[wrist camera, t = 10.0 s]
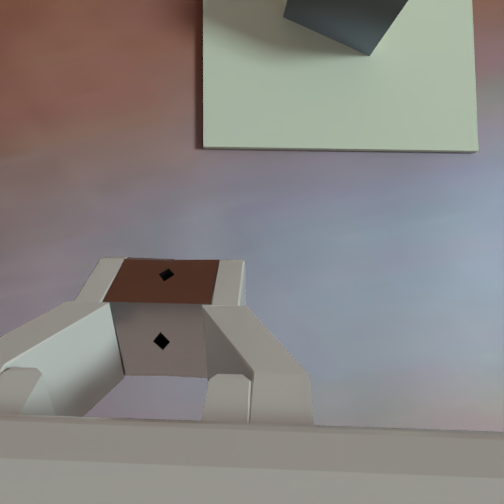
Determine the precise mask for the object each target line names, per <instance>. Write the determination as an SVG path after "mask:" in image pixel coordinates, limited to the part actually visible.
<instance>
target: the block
mask: <svg viewBox="0 0 504 504" xmlns="http://www.w3.org/2000/svg"><path fill="white" fill-rule="evenodd" d="M407 2H408V0H287V3H286V7H285V11H284V14H283V17H284V18H286V19H288V20H290V21H293V22H295V23H297V24H299V25H302V26H304V27H306V28H308V29H310V30H313V31H315V32H317V33H319V34H322V35H324V36H326V37H328V38H330V39H333V40H335V41H337V42H339V43H342V44H344V45H346V46H348V47H350V48H353V49H355V50H357V51H359V52H362V53H364V54H366V55H368V56H370V55H371V54H372V52H373V51H374V49H375V48H376V46H377V45H378V43H379V42H380V41H381V39H382V38H383V36H384V35H385V33H386V32H387V30H388V29H389V28H390V26H391V25H392V23H393V22H394V20H395V19H396V18H397V16H398V15H399V13H400V12H401V10H402V9H403V7H404V6H405V5H406V3H407Z"/></svg>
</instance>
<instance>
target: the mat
mask: <svg viewBox="0 0 504 504" xmlns="http://www.w3.org/2000/svg"><path fill="white" fill-rule="evenodd" d="M286 3H287V0H203V149H260V150H325V151H390V152H455V153H475V152H477V151H478V128H477V105H476V82H475V59H474V35H473V12H472V0H408V2H407V3H406V5H405V6H404V7H403V9H402V10H401V12H400V13H399V15H398V16H397V18H396V19H395V20H394V22H393V23H392V25H391V26H390V28H389V29H388V30H387V32H386V33H385V35H384V36H383V38H382V39H381V41H380V42H379V43H378V45H377V46H376V48H375V49H374V51H373V52H372V54H371V55H370V56H368V55H366V54H364V53H362V52H359V51H357V50H355V49H353V48H350V47H348V46H346V45H344V44H342V43H339V42H337V41H335V40H333V39H330V38H328V37H326V36H324V35H322V34H319V33H317V32H315V31H313V30H310V29H308V28H306V27H304V26H302V25H299V24H297V23H295V22H293V21H290V20H288V19H286V18H284V17H283V14H284V11H285V7H286Z"/></svg>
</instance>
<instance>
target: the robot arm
mask: <svg viewBox="0 0 504 504" xmlns="http://www.w3.org/2000/svg"><path fill="white" fill-rule="evenodd" d="M124 375H129V376H166V375H167V376H180V377H197V378H208V381H209V384H208V389H207V395H206V400H205V405H204V411H203V416H202V421H190V420H163V419H135V418H106V417H83V416H84V415H85V414H86V413H87V412H88V411H90V410H91V409H92V408H93V407H94V406H95V405H96V404H97V403H98V402H99V401H100V400H101V399H102V398H103V397H104V396H105V395H107V394H108V393H109V392H110V391H111V390H112V389H113V388H114V387H115V386H116V385H117V384H118V383H119V382H120V381H121V380H123V379H124ZM0 504H504V432H494V431H467V430H439V429H412V428H379V427H352V426H325V425H314V423H313V411H312V398H311V386H310V375H309V374H308V373H307V372H306V371H305V370H304V369H303V367H302V366H301V365H300V364H299V363H298V362H297V361H296V360H295V359H294V358H293V357H292V355H291V354H290V353H289V352H288V351H287V350H286V349H285V348H284V347H283V346H282V344H281V343H280V342H279V341H278V340H277V339H276V338H275V337H274V336H273V335H272V333H271V332H270V331H269V330H268V329H267V328H266V327H265V326H264V325H263V324H262V323H261V321H260V320H259V319H258V318H257V317H256V316H255V315H254V314H253V313H252V312H251V310H250V309H249V308H248V307H247V306H246V273H245V261H244V259H237V260H174V259H155V258H131V257H128V258H126V257H103V258H101V259H100V260H99V262H98V263H97V265H96V267H95V268H94V270H93V271H92V273H91V275H90V276H89V278H88V280H87V281H86V283H85V284H84V286H83V288H82V289H81V291H80V293H79V294H78V296H77V297H76V299H75V301H66V302H65V303H63V304H61V305H59V306H57V307H55V308H53V309H52V310H50V311H48V312H46V313H44V314H42V315H41V316H39V317H37V318H35V319H33V320H31V321H29V322H28V323H26V324H24V325H22V326H20V327H18V328H16V329H15V330H13V331H11V332H9V333H7V334H5V335H3V336H2V337H0Z"/></svg>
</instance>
